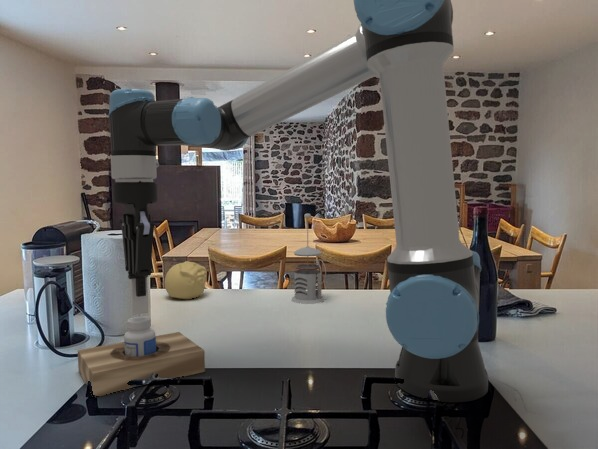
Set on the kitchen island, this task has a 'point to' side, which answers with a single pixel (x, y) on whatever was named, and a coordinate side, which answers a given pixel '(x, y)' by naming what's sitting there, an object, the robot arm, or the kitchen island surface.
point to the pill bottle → (139, 337)
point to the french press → (308, 276)
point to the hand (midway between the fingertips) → (139, 312)
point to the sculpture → (185, 280)
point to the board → (139, 363)
